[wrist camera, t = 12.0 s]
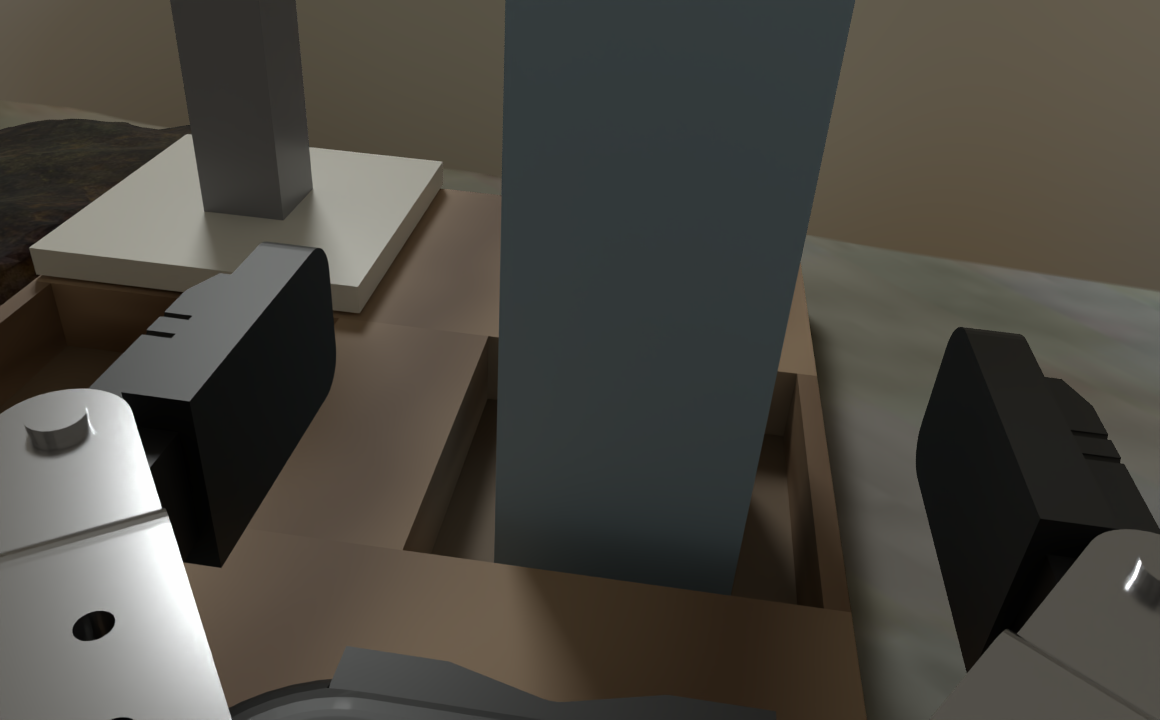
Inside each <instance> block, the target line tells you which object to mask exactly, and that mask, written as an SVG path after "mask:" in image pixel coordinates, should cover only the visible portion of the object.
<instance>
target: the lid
mask: <svg viewBox="0 0 1160 720" xmlns="http://www.w3.org/2000/svg"><path fill="white" fill-rule="evenodd" d="M170 2H171V8H172V15H173V21H174V26H175V33H176V40H177V45H178V52H179V58H180V64H181V71H182V77H183V83H184V89H185V95H186V101H187V108H188V114H189V120H190V127H191V133H192V135H191V134H186V135H185V136H183V137H182V138H181V139H179V140H178V141H176V142H175V143H174V144H172V145H171V146H169V147H168V148H167V149H165V150H164V151H163V152H161V153H160V154H158V155H157V156H156V157H154V158H153V159H151V160H150V161H149V162H147V163H146V164H144V165H143V166H142V167H140V168H139V169H138V170H136V171H135V172H133V173H132V174H131V175H129V176H128V177H126V178H125V179H124V180H122V181H121V182H120V183H118V184H117V185H115V186H114V187H113V188H111V189H110V190H108V191H107V192H106V193H104V194H103V195H102V196H100V197H99V198H97V199H96V200H95V201H93V202H92V203H90V204H89V205H88V206H86V207H85V208H83V209H82V210H81V211H79V212H78V213H77V214H75V215H74V216H72V217H71V218H70V219H68V220H67V221H65V222H64V223H63V224H61V225H60V226H59V227H57V228H56V229H54V230H53V231H52V232H50V233H49V234H47V235H46V236H45V237H43V238H42V239H41V240H39V241H38V242H36V243H35V244H34V245H32V246H31V247H29V249H30V253H31V257H32V260H33V264H34V268H35V271H36V274H38V275H46V276H54V277H63V278H71V279H79V280H87V281H96V282H104V283H112V284H120V285H129V286H137V287H145V288H154V289H162V290H170V291H178V292H185V291H186V290H187V289H189V288H191V287H193V286H195V285H197V284H199V283H201V282H203V281H205V280H207V279H209V278H211V277H213V276H215V275H217V274H219V273H223V274H232V273H233V272H234V271H235V270H236V269H237V268H238V267H239V266H240V265H241V263H242V262H243V261H244V260H245V259H246V258H247V257H248V256H249V255H250V254H251V253H252V252H253V251H254V250H255V249H256V247H257V246H258V245H259V244H261V243H262V242H275V243H283V244H292V245H300V246H308V247H316V248H321V249H323V250H324V252H325V254H326V256H327V259H328V263H329V272H330V283H331V295H332V307H333V310H335V311H344V312H352V313H360V312H361V311H362V309H363V307H364V306H365V304H366V303H367V301H368V300H369V298H370V297H371V295H372V294H373V292H374V290H375V289H376V287H377V286H378V284H379V283H380V281H381V280H382V278H383V276H384V275H385V273H386V272H387V270H388V269H389V267H390V266H391V264H392V262H393V261H394V259H395V258H396V256H397V255H398V253H399V252H400V250H401V248H402V247H403V245H404V244H405V242H406V241H407V239H408V238H409V236H410V235H411V233H412V231H413V230H414V228H415V227H416V225H417V224H418V222H419V221H420V219H421V217H422V216H423V214H424V213H425V211H426V210H427V208H428V207H429V205H430V203H431V202H432V200H433V199H434V197H435V196H436V194H437V193H438V191H439V189H440V188H441V186H442V185H443V162H439V161H431V160H421V159H412V158H403V157H394V156H384V155H375V154H366V153H357V152H348V151H339V150H328V149H320V148H310V147H309V140H308V130H307V119H306V109H305V97H304V87H303V76H302V65H301V56H300V55H301V54H300V44H299V33H298V22H297V12H296V1H295V0H170Z"/></svg>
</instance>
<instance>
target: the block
mask: <svg viewBox="0 0 1160 720" xmlns="http://www.w3.org/2000/svg"><path fill="white" fill-rule="evenodd" d="M854 3H855V0H506V4H505V55H504V103H503V152H502V200H501V249H500V298H499V347H498V396H497V445H496V494H495V543H494V563H499V564H506V565H513V566H520V567H528V568H535V569H542V570H549V571H556V572H564V573H571V574H578V575H585V576H592V577H600V578H607V579H614V580H621V581H629V582H636V583H643V584H650V585H657V586H665V587H672V588H679V589H686V590H693V591H701V592H708V593H715V594H722V595H730V596H731V591H732V586H733V581H734V577H735V572H736V567H737V562H738V558H739V553H740V548H741V543H742V539H743V534H744V529H745V524H746V519H747V515H748V510H749V505H750V500H751V496H752V491H753V486H754V481H755V476H756V472H757V467H758V462H759V457H760V453H761V448H762V443H763V438H764V433H765V429H766V424H767V419H768V414H769V410H770V405H771V400H772V395H773V390H774V386H775V381H776V376H777V371H778V367H779V362H780V357H781V352H782V347H783V343H784V338H785V333H786V328H787V324H788V319H789V314H790V309H791V304H792V300H793V295H794V290H795V285H796V281H797V276H798V271H799V266H800V261H801V257H802V252H803V247H804V242H805V238H806V233H807V228H808V223H809V218H810V214H811V209H812V204H813V199H814V195H815V190H816V185H817V180H818V175H819V170H820V166H821V161H822V156H823V152H824V147H825V142H826V137H827V132H828V128H829V123H830V118H831V113H832V109H833V104H834V99H835V94H836V89H837V85H838V80H839V75H840V70H841V66H842V61H843V56H844V51H845V46H846V42H847V37H848V32H849V27H850V22H851V18H852V13H853V8H854Z"/></svg>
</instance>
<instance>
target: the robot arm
mask: <svg viewBox="0 0 1160 720" xmlns="http://www.w3.org/2000/svg"><path fill="white" fill-rule="evenodd" d="M335 367H336V342H335V330H334V318H333V307H332V295H331V283H330V272H329V263H328V259H327V256H326V254H325V252H324V250H323V249H321V248H316V247H308V246H300V245H292V244H283V243H275V242H262V243H261V244H259V245H258V246H257V247H256V249H255V250H254V251H253V252H252V253H251V254H250V255H249V256H248V257H247V258H246V259H245V260H244V261H243V262H242V263H241V265H240V266H239V267H238V268H237V269H236V270H235V271H234V272H233V273H232V274H223V273H219V274H217V275H215V276H213V277H211V278H209V279H207V280H205V281H203V282H201V283H199V284H197V285H195V286H193V287H191V288H189V289H187V290H186V291H185V292H184V293H183V294H182V295H181V296H180V297H179V298H178V299H177V300H176V301H175V302H174V303H173V304H172V305H171V306H170V307H169V308H168V309H167V310H166V311H165V312H164V317H161V316H160V317H159V318H158V319H157V320H156V321H155V322H154V323H153V324H152V325H151V326H150V327H149V328H148V329H147V333H146V335H141V336H140V337H139V338H138V339H137V340H136V341H135V342H134V343H133V344H132V345H131V346H130V347H129V348H128V349H127V350H126V351H125V352H124V353H123V354H122V355H121V356H120V357H119V358H118V359H117V360H116V361H115V362H114V363H113V364H112V365H111V366H110V367H109V368H108V369H107V370H106V371H105V372H104V373H103V374H102V375H101V376H100V377H99V378H98V379H97V380H96V381H95V382H94V383H93V384H92V385H91V386H90V387H89V388H88V389H67V390H60V391H54V392H49V393H45V394H42V395H38V396H35V397H32V398H30V399H27V400H25V401H22V402H20V403H18V404H16V405H14V406H12V407H11V408H9V409H7V410H6V411H4V412H3V413H1V414H0V720H776V711H771V710H764V709H758V708H751V707H745V706H738V705H732V704H725V703H718V702H712V701H705V700H699V699H692V698H686V697H679V696H672V695H657V696H643V697H628V698H614V699H599V700H584V701H570V702H555V701H549V700H546V699H543V698H540V697H537V696H535V695H532V694H530V693H527V692H525V691H522V690H520V689H517V688H515V687H512V686H510V685H507V684H505V683H502V682H500V681H497V680H495V679H492V678H490V677H487V676H485V675H482V674H479V673H477V672H474V671H472V670H469V669H467V668H464V667H462V666H459V665H457V664H454V663H452V662H449V661H443V660H436V659H429V658H423V657H416V656H410V655H403V654H397V653H390V652H384V651H377V650H370V649H364V648H357V647H351V646H346V648H345V650H344V652H343V655H342V657H341V659H340V662H339V664H338V666H337V669H336V671H335V674H334V676H333V678H332V679H324V680H316V681H310V682H305V683H299V684H293V685H290V686H286V687H282V688H279V689H275V690H272V691H268V692H265V693H263V694H260V695H257V696H255V697H252V698H250V699H247V700H244V701H242V702H240V703H238V704H236V705H234V706H232V707H230V708H228V706H227V702H226V699H225V696H224V693H223V690H222V686H221V683H220V680H219V677H218V674H217V670H216V667H215V664H214V661H213V658H212V654H211V651H210V648H209V645H208V641H207V638H206V635H205V632H204V629H203V625H202V622H201V619H200V616H199V613H198V609H197V606H196V603H195V600H194V597H193V593H192V590H191V587H190V584H189V581H188V577H187V574H186V571H185V568H184V565H183V563H190V564H197V565H204V566H211V567H217V568H222V566H223V565H224V563H225V562H226V560H227V558H228V557H229V555H230V553H231V552H232V550H233V549H234V547H235V545H236V544H237V542H238V540H239V539H240V537H241V536H242V534H243V532H244V531H245V529H246V527H247V526H248V524H249V523H250V521H251V519H252V518H253V516H254V514H255V513H256V511H257V510H258V508H259V506H260V505H261V503H262V501H263V500H264V498H265V497H266V495H267V493H268V492H269V490H270V488H271V487H272V485H273V484H274V482H275V480H276V479H277V477H278V475H279V474H280V472H281V471H282V469H283V467H284V466H285V464H286V462H287V461H288V459H289V458H290V456H291V454H292V453H293V451H294V449H295V448H296V446H297V445H298V443H299V441H300V440H301V438H302V436H303V435H304V433H305V432H306V430H307V428H308V427H309V425H310V423H311V422H312V420H313V419H314V417H315V415H316V414H317V412H318V411H319V409H320V407H321V406H322V404H323V402H324V401H325V399H326V397H327V396H328V394H329V391H330V389H331V386H332V382H333V378H334V373H335ZM1107 437H1108V433H1107V432H1106V430H1105V428H1104V426H1103V424H1102V422H1101V421H1100V419H1099V417H1098V415H1097V413H1096V411H1095V409H1094V408H1093V406H1092V405H1091V404H1090V403H1089V402H1087V401H1086V400H1085V399H1084V398H1083V397H1082V396H1080V395H1079V394H1078V393H1077V392H1076V391H1075V390H1073V389H1072V388H1071V387H1070V386H1069V385H1068V384H1067V383H1065V382H1064V381H1063V380H1062V379H1056V378H1048V377H1044V375H1043V373H1042V371H1041V369H1040V367H1039V365H1038V363H1037V361H1036V359H1035V357H1034V355H1033V353H1032V351H1031V349H1030V347H1029V345H1028V343H1027V341H1026V339H1025V337H1024V336H1022V335H1020V334H1014V333H1005V332H997V331H989V330H981V329H972V328H964V327H959V328H957V329H956V330H955V331H954V332H953V334H952V335H951V337H950V339H949V342H948V344H947V347H946V350H945V353H944V356H943V359H942V363H941V366H940V369H939V372H938V375H937V378H936V381H935V384H934V387H933V390H932V393H931V397H930V400H929V403H928V406H927V409H926V412H925V415H924V418H923V421H922V424H921V428H920V431H919V436H918V442H917V450H916V471H917V478H918V482H919V486H920V490H921V494H922V498H923V502H924V505H925V509H926V513H927V517H928V521H929V525H930V529H931V533H932V537H933V541H934V545H935V549H936V553H937V557H938V561H939V565H940V569H941V573H942V577H943V581H944V584H945V588H946V592H947V596H948V600H949V604H950V608H951V612H952V616H953V620H954V624H955V628H956V632H957V636H958V640H959V644H960V648H961V652H962V656H963V660H964V663H965V667H966V671H967V674H966V675H965V677H964V678H963V679H962V680H961V682H960V683H959V684H958V685H957V686H956V688H955V689H954V690H953V691H952V692H951V694H950V695H949V696H948V697H947V699H946V700H945V701H944V702H943V703H942V705H941V706H940V707H939V708H938V709H937V711H936V712H935V713H934V714H933V715H932V717H931V718H930V719H929V720H1160V529H1159V527H1158V525H1157V524H1156V522H1155V520H1154V518H1153V516H1152V514H1151V512H1150V511H1149V509H1148V507H1147V505H1146V503H1145V501H1144V500H1143V498H1142V496H1141V494H1140V492H1139V490H1138V489H1137V487H1136V485H1135V483H1134V481H1133V479H1132V478H1131V476H1130V474H1129V472H1128V470H1127V468H1126V467H1125V465H1124V464H1120V459H1121V457H1120V455H1119V454H1118V452H1117V450H1116V448H1115V446H1114V444H1113V443H1112V441H1111V440H1107Z"/></svg>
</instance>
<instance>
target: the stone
mask: <svg viewBox="0 0 1160 720" xmlns="http://www.w3.org/2000/svg"><path fill="white" fill-rule="evenodd" d="M186 134H191V135H192V133H191V127H190V125H186V126H180V127H175V128H167V129H160V130H158V129H151V128H142V127H138V126H134V125H130V124H129V123H126V122H102V121H96V120H86V119H65V120H44V121H37V122H30V123H26V124H22V125H18V126H15V127H8V128H5V129H2V130H0V306H1V305H2V304H4V303H5V302H6V301H8V300H9V299H10V298H12V297H13V296H14V295H15V294H17V293H18V292H19V291H21V290H22V289H23V288H24V287H26V286H27V285H28V284H30V283H31V282H32V281H33V280H35V279H36V278H37V277H39V276H40V275H38V274H36V271H35V268H34V264H33V260H32V257H31V253H30V249H29V247H31V246H32V245H34V244H35V243H36V242H38V241H39V240H41V239H42V238H43V237H45V236H46V235H47V234H49V233H50V232H52V231H53V230H54V229H56V228H57V227H59V226H60V225H61V224H63V223H64V222H65V221H67V220H68V219H70V218H71V217H72V216H74V215H75V214H77V213H78V212H79V211H81V210H82V209H83V208H85V207H86V206H88V205H89V204H90V203H92V202H93V201H95V200H96V199H97V198H99V197H100V196H102V195H103V194H104V193H106V192H107V191H108V190H110V189H111V188H113V187H114V186H115V185H117V184H118V183H120V182H121V181H122V180H124V179H125V178H126V177H128V176H129V175H131V174H132V173H133V172H135V171H136V170H138V169H139V168H140V167H142V166H143V165H144V164H146V163H147V162H149V161H150V160H151V159H153V158H154V157H156V156H157V155H158V154H160V153H161V152H163V151H164V150H165V149H167V148H168V147H169V146H171V145H172V144H174V143H175V142H176V141H178V140H179V139H181V138H182V137H183V136H185V135H186Z"/></svg>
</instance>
